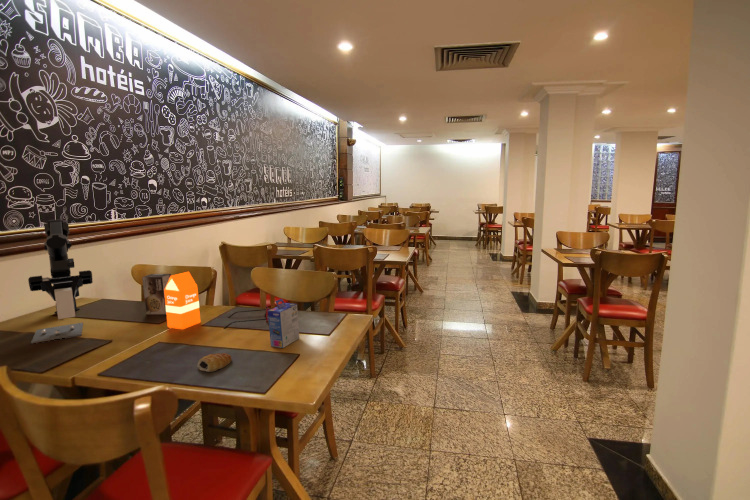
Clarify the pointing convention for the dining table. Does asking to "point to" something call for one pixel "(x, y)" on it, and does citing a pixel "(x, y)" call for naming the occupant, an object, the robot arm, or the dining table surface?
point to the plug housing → (64, 303)
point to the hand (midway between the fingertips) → (64, 299)
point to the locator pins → (57, 331)
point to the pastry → (214, 362)
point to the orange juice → (182, 301)
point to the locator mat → (63, 332)
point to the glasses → (250, 320)
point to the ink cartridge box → (283, 324)
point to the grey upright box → (155, 292)
